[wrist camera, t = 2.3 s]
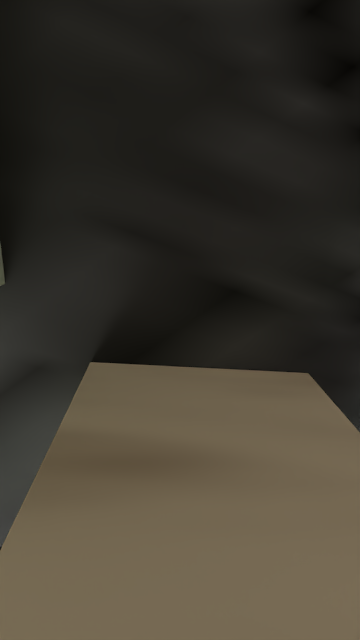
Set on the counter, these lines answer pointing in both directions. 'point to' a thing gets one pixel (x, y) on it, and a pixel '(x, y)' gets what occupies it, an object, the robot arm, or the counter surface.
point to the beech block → (189, 513)
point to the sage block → (1, 269)
